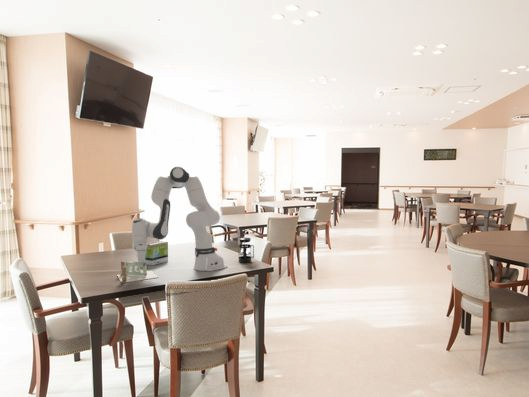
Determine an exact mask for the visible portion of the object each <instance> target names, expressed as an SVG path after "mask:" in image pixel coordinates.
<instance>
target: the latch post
mask: <svg viewBox="0 0 529 397" xmlns="http://www.w3.org/2000/svg"><path fill="white" fill-rule="evenodd" d="M119 281H120V280H119ZM120 283H121V284H126V283H130V282H129V281H128V280H127V277H126V265H125V266H124V267H122V280H121V281H120Z"/></svg>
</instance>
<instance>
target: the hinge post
mask: <svg viewBox="0 0 529 397" xmlns="http://www.w3.org/2000/svg"><path fill="white" fill-rule="evenodd" d="M125 262H126V261H125V260H123V261H120V274H118V275H120V276H122V267H124V266H126V265H125Z"/></svg>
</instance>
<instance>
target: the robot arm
mask: <svg viewBox="0 0 529 397" xmlns="http://www.w3.org/2000/svg"><path fill="white" fill-rule="evenodd" d="M183 188H185V190H186V193H187V198H188V201H189V204H190V206H191V207H193V208H195V209H196V211H192V212H189V213H188V214H187V215H186V217H185V223H186V225H187V226H188V228H190V229H191V230H192V232H193V234H194V240H195V248H194V256H195V258H194V260H195V261H194V266H193V270H194V271H201V272H212V271H217V270H221V269H226V268H228V264H226V263H225V262H224V257H222V255H219V254H218V253H217V251H218V249H219V248H217V247H214V246H213V236H212V234H211V233H210V232H209V231H208V230H207V227H211V226H214V225H217V224H218V223H219V222H220V221H221V220H220V219H221V216H220V215H221V214H220V213H219V212H218V211H217V210H216V209H215V208H213V207H212V206H211V204H210V203H209V201H208V200H207V197H206V194H205V191H204V187H203V185H202V182H201V180H200V178H199V177H198V176H197V175H190V174H189V172H187V171H186V170H185V169H184V168H183V167H182V166H174V167H173V168H172V169H171V170H170V172H169V175H168V176H167V175H161V176H159V177H158V178H157V179H156V181H155V182H154V186H153V188H152V191H151V194H150V195H151V196H150V197H151V201H152V203H153V204H154V205H156V206H158V207H159V209H160V212H159V218H158V222H150V221H148V220H146V219H145V218H142V217H141V218H136V219H134V220H133V221H132V223H131V225H132V226H131V235H132V238H131V239H132V241H131V242H132V249H133V250H134V251H135V253H136V254H135V256H136V259H137V262H139V263H144V262H145V255H146V250H147V243H148V238H150V239H156V240H159V241H162V240H164V239H165V238H166V237H167V236H168V234H169V221H170V220H169V219H170V213H171V202H170V199H169V198H170V194H171V191H172V189H183ZM140 268H143V266H140Z"/></svg>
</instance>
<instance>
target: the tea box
mask: <svg viewBox="0 0 529 397" xmlns="http://www.w3.org/2000/svg"><path fill="white" fill-rule="evenodd" d="M168 244H169V242H168V241H163V240H156V241H151V242H147V250H146V255H145V262H144V263H147V266H155V265H159V264H163V263H167V262H169V245H168Z"/></svg>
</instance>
